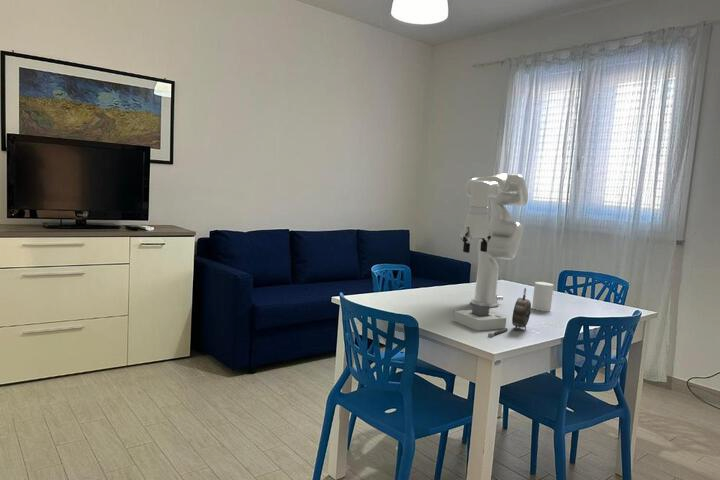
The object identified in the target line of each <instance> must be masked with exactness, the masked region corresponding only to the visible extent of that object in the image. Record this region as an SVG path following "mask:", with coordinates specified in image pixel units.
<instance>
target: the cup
mask: <svg viewBox="0 0 720 480" xmlns="http://www.w3.org/2000/svg"><path fill="white" fill-rule="evenodd" d="M554 286H555V285H554V284H553V283H550V282H545V281H534V288H533V294H532V295H533V297H532V303H531V309H533V310H535V309H536V310H535V311H539V310H541V311H540V312H550V310H551V309H552V303H553V302H552V301H553V294H554V293H553V292H554Z"/></svg>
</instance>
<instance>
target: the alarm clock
mask: <svg viewBox="0 0 720 480" xmlns="http://www.w3.org/2000/svg"><path fill="white" fill-rule="evenodd" d="M526 292H527V288H526V287H525V288H524V289H523V295H522V297H518V298H517V300H516V301H515V304H514V308H513V313H512V319H511V323H512V325H513V327H514V326H515V327H514V332H516V331H517V329H518V328H524V329H525V330H527V328H526V327H527V325H528V323H529V319H530V316H531V314H532V312H531V310H532V303H531V300H529V299H527V298H526V295H527V293H526Z"/></svg>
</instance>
